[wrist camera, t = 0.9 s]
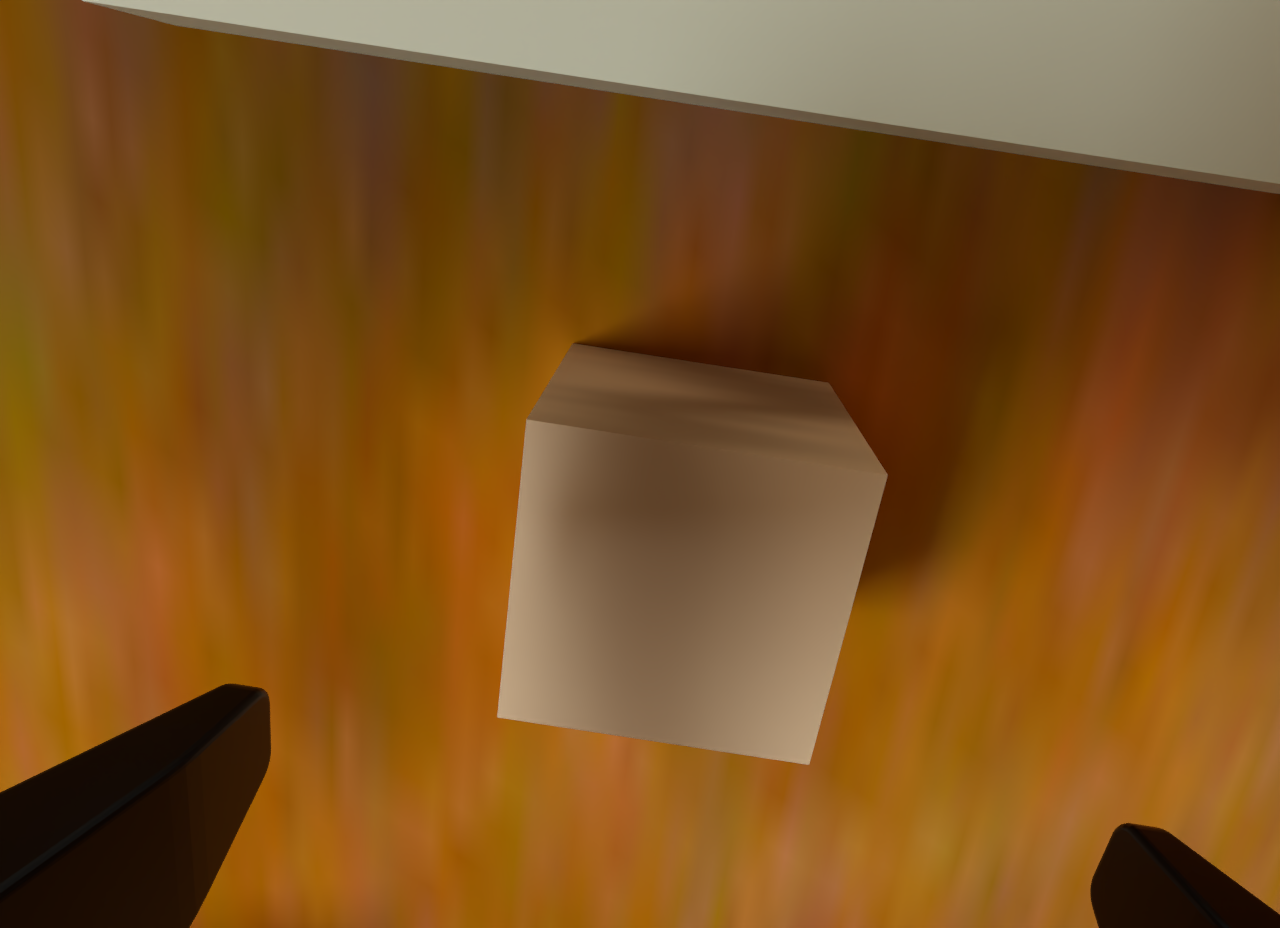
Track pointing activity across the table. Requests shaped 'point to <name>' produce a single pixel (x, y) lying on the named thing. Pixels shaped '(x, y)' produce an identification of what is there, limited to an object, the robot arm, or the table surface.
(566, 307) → the table surface
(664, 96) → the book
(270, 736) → the robot arm
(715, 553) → the maple block
